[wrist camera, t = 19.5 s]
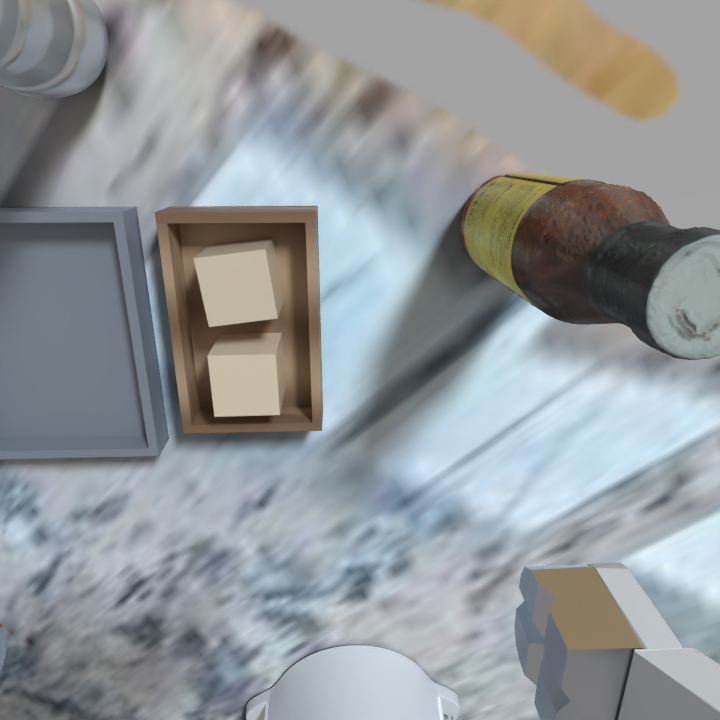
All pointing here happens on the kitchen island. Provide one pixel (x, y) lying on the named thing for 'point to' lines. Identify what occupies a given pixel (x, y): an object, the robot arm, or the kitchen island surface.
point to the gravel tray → (76, 336)
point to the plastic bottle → (51, 46)
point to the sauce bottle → (599, 258)
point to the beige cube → (239, 282)
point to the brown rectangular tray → (295, 321)
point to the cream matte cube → (247, 374)
